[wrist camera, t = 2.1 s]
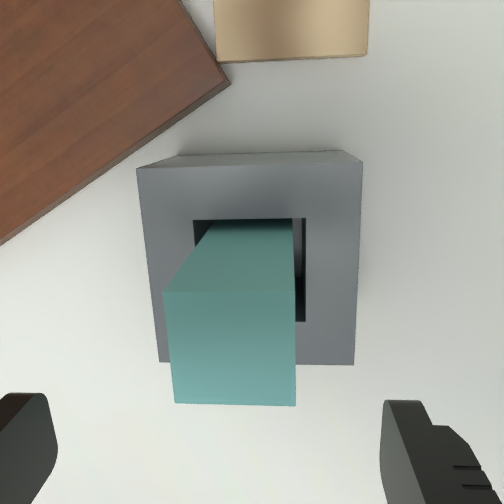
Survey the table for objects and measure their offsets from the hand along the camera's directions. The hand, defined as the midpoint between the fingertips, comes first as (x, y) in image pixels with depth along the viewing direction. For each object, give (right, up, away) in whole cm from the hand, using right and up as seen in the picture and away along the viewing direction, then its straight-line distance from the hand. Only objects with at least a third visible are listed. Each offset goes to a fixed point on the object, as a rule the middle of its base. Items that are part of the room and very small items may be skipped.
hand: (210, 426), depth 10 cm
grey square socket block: (+2, +5, +17) cm, 17 cm away
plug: (+1, +5, +16) cm, 16 cm away
